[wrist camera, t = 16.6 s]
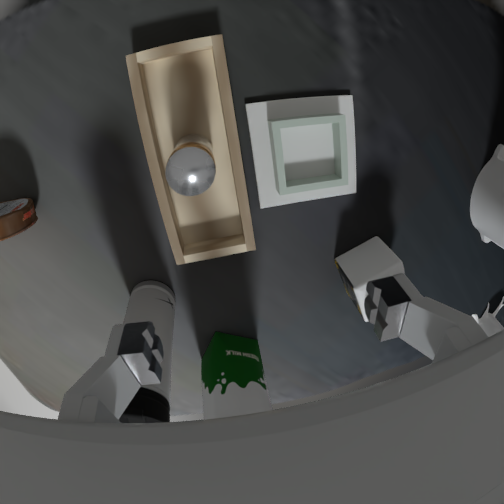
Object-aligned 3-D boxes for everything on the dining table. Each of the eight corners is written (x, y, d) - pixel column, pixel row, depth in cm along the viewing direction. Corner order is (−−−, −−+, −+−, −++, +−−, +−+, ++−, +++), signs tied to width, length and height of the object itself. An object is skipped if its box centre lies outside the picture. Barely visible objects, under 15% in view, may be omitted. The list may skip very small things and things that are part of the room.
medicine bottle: (332, 258, 41) (371, 316, 30) (376, 234, 40) (424, 284, 30) (346, 292, 44) (380, 349, 34) (386, 270, 43) (427, 321, 33)
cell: (209, 129, 29) (211, 142, 22) (216, 166, 31) (220, 191, 24) (170, 137, 29) (159, 153, 22) (178, 174, 31) (171, 201, 24)
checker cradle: (350, 95, 30) (360, 96, 27) (354, 191, 36) (363, 198, 34) (244, 104, 29) (248, 105, 27) (259, 206, 35) (263, 215, 33)
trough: (219, 40, 25) (221, 34, 22) (251, 235, 37) (255, 249, 34) (133, 59, 25) (125, 56, 22) (178, 249, 37) (176, 265, 34)
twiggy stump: (441, 356, 63) (456, 379, 56) (479, 296, 53) (499, 318, 47) (482, 345, 67) (495, 364, 60) (514, 292, 57) (531, 310, 50)
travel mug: (176, 279, 39) (169, 417, 22) (174, 317, 42) (170, 446, 25) (130, 274, 37) (97, 409, 20) (132, 312, 40) (110, 439, 23)
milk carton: (265, 336, 46) (294, 452, 29) (242, 370, 50) (261, 475, 33) (211, 325, 44) (223, 451, 27) (194, 362, 47) (199, 474, 30)
